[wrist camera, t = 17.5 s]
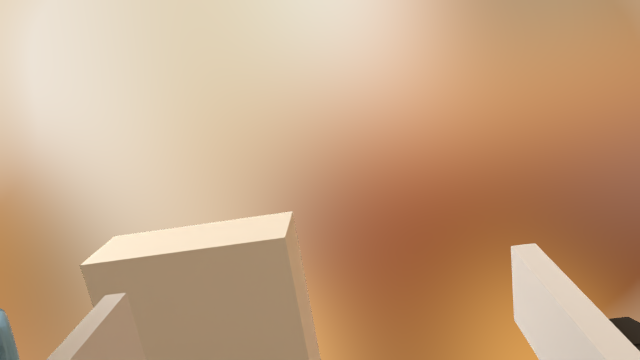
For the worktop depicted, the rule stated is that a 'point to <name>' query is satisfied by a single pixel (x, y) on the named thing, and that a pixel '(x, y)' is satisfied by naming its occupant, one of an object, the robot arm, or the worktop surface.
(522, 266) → the robot arm
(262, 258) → the riser
